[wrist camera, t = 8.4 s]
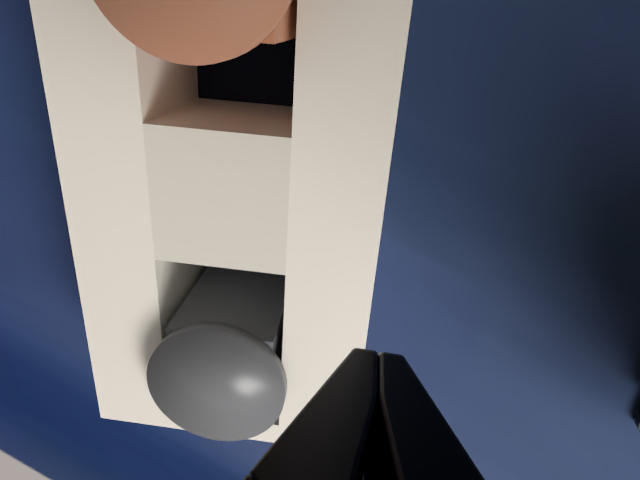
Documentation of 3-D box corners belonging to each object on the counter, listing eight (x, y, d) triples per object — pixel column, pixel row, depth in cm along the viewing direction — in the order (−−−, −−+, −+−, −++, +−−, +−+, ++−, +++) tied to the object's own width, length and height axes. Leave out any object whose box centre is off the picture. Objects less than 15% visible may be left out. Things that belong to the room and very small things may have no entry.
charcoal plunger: (308, 265, 21) (287, 341, 16) (302, 358, 24) (282, 449, 19) (194, 251, 22) (140, 322, 17) (199, 344, 24) (152, 430, 19)
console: (423, -140, 15) (440, -205, 11) (356, 371, 24) (350, 454, 20) (100, -157, 16) (-10, -224, 11) (151, 344, 25) (100, 417, 20)
